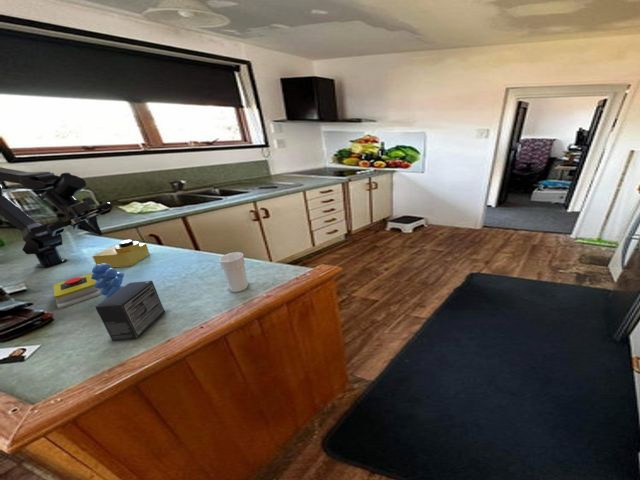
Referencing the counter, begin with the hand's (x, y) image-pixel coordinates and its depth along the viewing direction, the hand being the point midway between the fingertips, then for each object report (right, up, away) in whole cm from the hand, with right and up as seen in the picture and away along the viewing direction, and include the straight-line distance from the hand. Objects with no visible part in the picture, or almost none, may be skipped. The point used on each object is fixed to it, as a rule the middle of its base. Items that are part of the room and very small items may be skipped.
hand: (101, 235), depth 104 cm
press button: (+8, -4, +2) cm, 9 cm away
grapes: (+25, -18, -18) cm, 36 cm away
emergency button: (+10, -18, -16) cm, 26 cm away
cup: (+62, -16, -16) cm, 66 cm away
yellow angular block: (+5, -10, +4) cm, 12 cm away
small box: (+44, -23, -32) cm, 59 cm away
